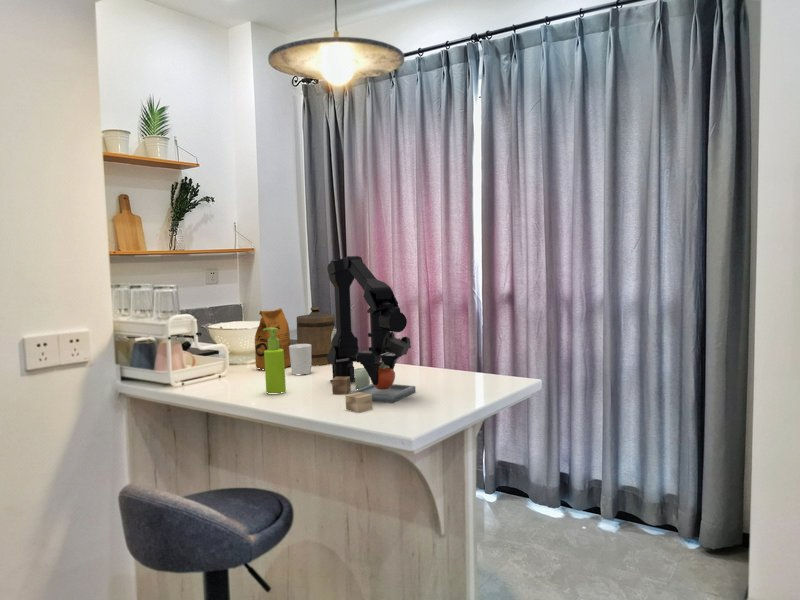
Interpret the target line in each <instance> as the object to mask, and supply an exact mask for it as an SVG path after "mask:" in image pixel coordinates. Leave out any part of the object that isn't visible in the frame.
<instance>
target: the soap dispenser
mask: <svg viewBox="0 0 800 600" xmlns="http://www.w3.org/2000/svg"><path fill="white" fill-rule="evenodd" d="M263 330H270V338H269V339H268V350H265V351H264V359H265V370H264V372H265V376H264V377H265V391H266V392H268V393H281V392H285V391H286V392H287V389H286V388H287V387H286V385H287V384H286V371H285V370H286V368H285V366H284V350H283V349H279V339H278V338H276V331H277V330H278V328H274V327H270V328H264V329H263ZM286 392H285V393H286Z"/></svg>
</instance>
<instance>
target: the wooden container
mask: <svg viewBox="0 0 800 600" xmlns="http://www.w3.org/2000/svg"><path fill="white" fill-rule="evenodd" d="M320 309H321V308H320V307H319V306H318V305H313V306H311V307H310V311H311V312H310V313H309V314H304V315H298V316H296V344H311V355H312V357H311V365H315V367H317V366H316V365H319V366H327V364H328V365H331V364H330V363H328V360H327V356H328V353H329V351H330V349H331V347H332V339H333V337H334V335H335V333H336V316H335V314H331V313H322V312H320Z"/></svg>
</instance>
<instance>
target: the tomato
mask: <svg viewBox="0 0 800 600" xmlns="http://www.w3.org/2000/svg"><path fill="white" fill-rule="evenodd" d="M380 362H382V364H381V365H380V366H379V372H378V384H377V385H374V384H373V382H372V380H371V378H370V377H369V380H370V382H371V384H373V385H374V387H375V388H376V389H379V390H385V389H389V388H390V387H391V386H392V384H394V383H395V380H396V372H395V371H394V370H395V369H394V370H393V369H392V368H390V367H389V366H388V365H385V364H384V362H383V361H382V360H380Z"/></svg>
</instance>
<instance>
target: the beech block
mask: <svg viewBox="0 0 800 600" xmlns="http://www.w3.org/2000/svg"><path fill="white" fill-rule="evenodd" d="M344 395H345V410H346V409H347V410H346V411H350V410H351V412H354V411H355V413H361V411H362V412H365V410H366V411H369V410H372V409H373V401H372V395H371V394H367V393H362V392H358V393H354V394H350V393H348V394H344Z"/></svg>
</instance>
